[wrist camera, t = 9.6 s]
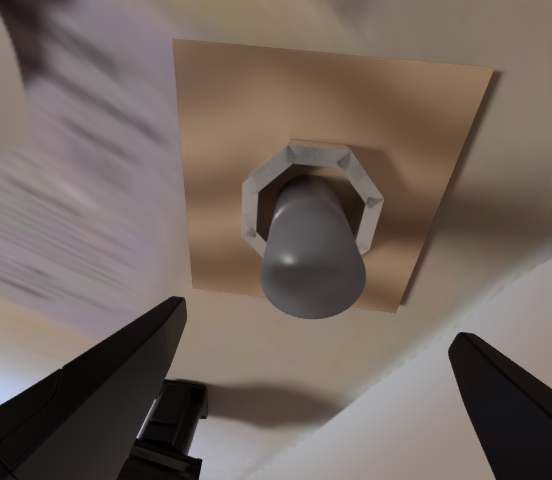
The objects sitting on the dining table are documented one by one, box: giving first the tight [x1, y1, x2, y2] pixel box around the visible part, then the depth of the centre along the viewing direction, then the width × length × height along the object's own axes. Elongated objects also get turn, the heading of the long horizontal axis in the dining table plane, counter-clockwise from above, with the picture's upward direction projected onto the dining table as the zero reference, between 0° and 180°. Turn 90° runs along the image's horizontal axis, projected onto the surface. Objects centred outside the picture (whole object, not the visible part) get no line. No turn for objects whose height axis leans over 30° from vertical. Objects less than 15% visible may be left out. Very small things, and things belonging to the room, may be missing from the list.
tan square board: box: [172, 39, 494, 313], centre depth 19 cm, size 18×18×1 cm
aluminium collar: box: [241, 139, 384, 258], centre depth 18 cm, size 9×9×2 cm
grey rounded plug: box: [260, 175, 366, 319], centre depth 15 cm, size 4×4×9 cm
